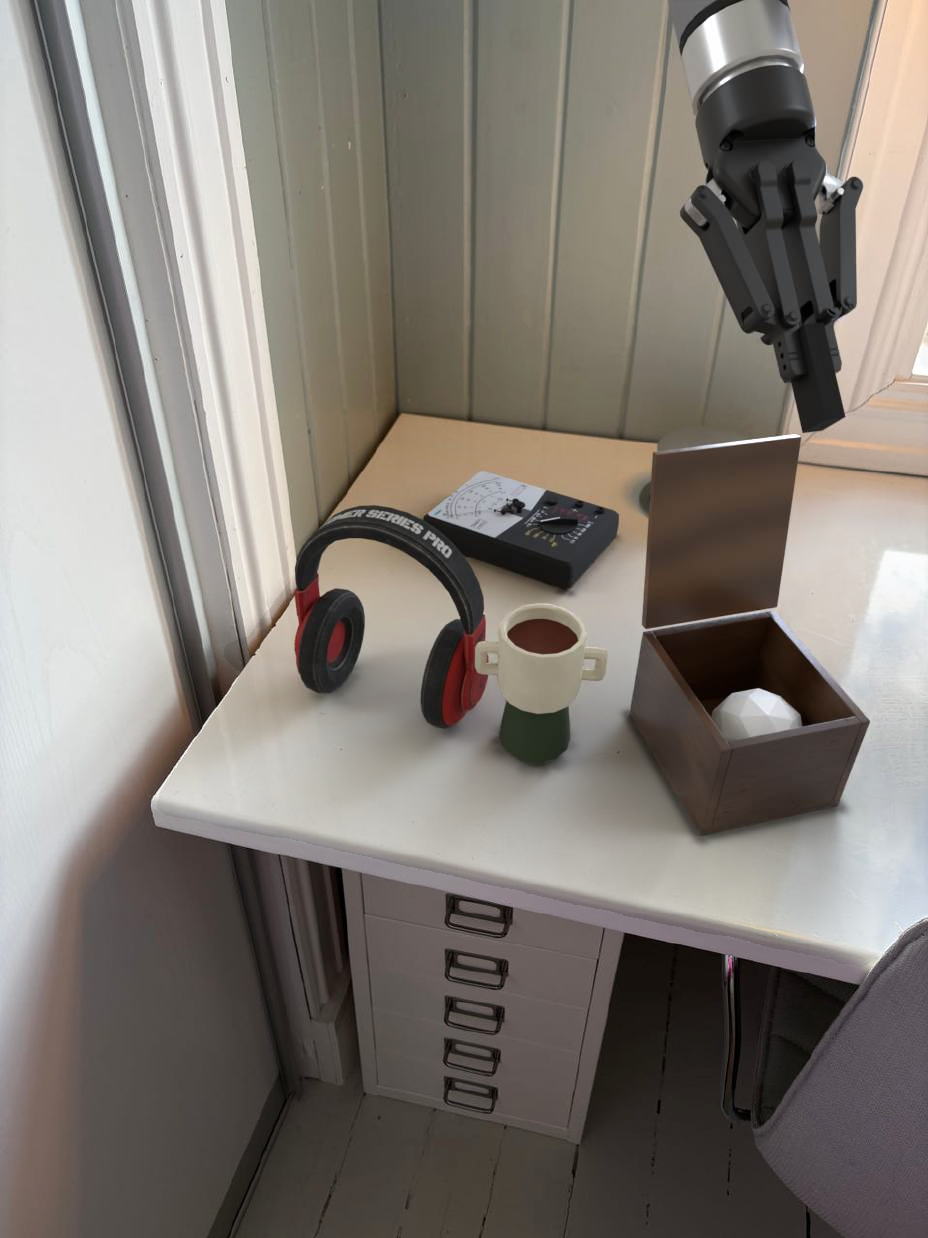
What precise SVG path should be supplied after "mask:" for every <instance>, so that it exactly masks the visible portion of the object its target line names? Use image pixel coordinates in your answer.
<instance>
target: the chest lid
mask: <svg viewBox="0 0 928 1238" xmlns="http://www.w3.org/2000/svg"><path fill="white" fill-rule="evenodd" d="M801 443H802V436H800V435H798V434H796V433H795V434H787V435H778V436H771V437H762V438H755V439H753V438H752V439H746V440H738V441H730V442H729V441H728V442H721V443H714V444H706V445H697V446H690V447H681V448H680V447H679V448H673V449H666V450H657V451H653V452H652V459H651V473H650V475H651V476H650V490H649V491H650V492H649V504H648V505H649V506H648V520H647V537H646V555H645V565H644V583H643V584H644V585H643V599H642V612H641V613H642V616H641V626H642V627H643V628H644V629H645V630H648V629H655V628H662V627H667V626H673V625H679V624H685V623H692V622H697V621H703V620H709V619H715V618H721V617H727V616H734V615H739V614H745V613H746V614H747V613H751V612H757V611H763V610H769V609H776V608H778V604H779V597H780V591H781V583H782V576H783V569H784V562H785V555H786V550H787V549H786V547H787V542H788V541H787V540H788V534H789V528H790V519H791V512H792V506H793V498H794V493H795V492H794V491H795V484H796V477H797V471H798V464H799V457H800V449H801Z"/></svg>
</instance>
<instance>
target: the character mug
mask: <svg viewBox="0 0 928 1238" xmlns="http://www.w3.org/2000/svg"><path fill="white" fill-rule="evenodd" d="M498 629H499V630H498V641H491V640H489V641H488V640H485V641H482V642H479V643H477V645H476V647H475V668H476V671H477V672H478V673H480V674H486V675H488V676H496V677H497V683H498V689H499V691H500V693H501V695H502V696H503V698H504V699H505V700H506V701H505V704H504V709H503V713H502V717H501V722H500V726H499V732H498V734H499V739H500V743H501V746H502V747H503V749H504V750H506V752H507V753H508V754H509V755H510V756H511V757H513V758H514V759H517V760H519V761H521V762H522V763H525V764H539V765H543V764H546V763H549V762H553V761H554V760H558V759H559V757H560V756H561V755H562V754H563V753H565V752H566V751H567V750H568V748H569V744H570V741H571V720H570V708H569V706H570V704H572V703H573V701H574V700H576V698H577V696H578V694H579V692H580V690H581V689H580V688H581V685H582V684H581V683H582V681H590V682H599V681H602V680H603V679H604V677H605V676H606V673H607V664H608V658H609V654H608V651H607V649H606V648H602V647H595V646H587V645H586V644H587V638H588V637H587V629H586V626H585V624H584V622H583V621H582V619H580V618H579V616H578V615H576V614H575V613H574V612H573V611H570V610H569V609H567V608H564V607H563V606H559V605H555V604H551V603H546V602H545V603H544V602H540V603H539V602H538V603H537V602H535V603H530V604H524V605H522V606H519V607H517V608H514V609H512V610H511V611H510V612H508V613H507V614H506V615H505V616H504V617H503V619H502V621H501V623H500V626H499V628H498ZM487 654H494V655H496V654H497V663H495V662H489V663H487ZM585 660H595V661H594V667H593V668H584V664H585V663H584V662H585Z"/></svg>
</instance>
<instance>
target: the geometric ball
mask: <svg viewBox="0 0 928 1238" xmlns="http://www.w3.org/2000/svg"><path fill="white" fill-rule="evenodd" d="M711 719H712V720H713V722H714V723H715V725H716V726H717V728H718V729H719V731H720V732H721V734H722V735H723V737H724V738H725V740H726V741H727V742H729V741H734V740H739V739H744V738H749V737H754V736H759V735H764V734H769V733H774V732H779V731H784V730H789V729H794V728H800V727H802V721H801V715H800V714H799V713H798V712H797V711H796V710H795V709H794V708H793V707H792V706H790V705H789V704H788V703H787V702H786V701H785V700H784V699H783V698H782V697H781V696H779V695H776V694H773V693H770V692H768V691H765V690H762V689H759V688H757V689H752V690H746V691H741V692H736V693H732V694H731V695H730V696H728V697H727V698H726V699H725V700H724V701H723V702H722V703H721V704H720V705H719V706H717V707H716V708H715V709H714V710H713V712H712V716H711Z"/></svg>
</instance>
